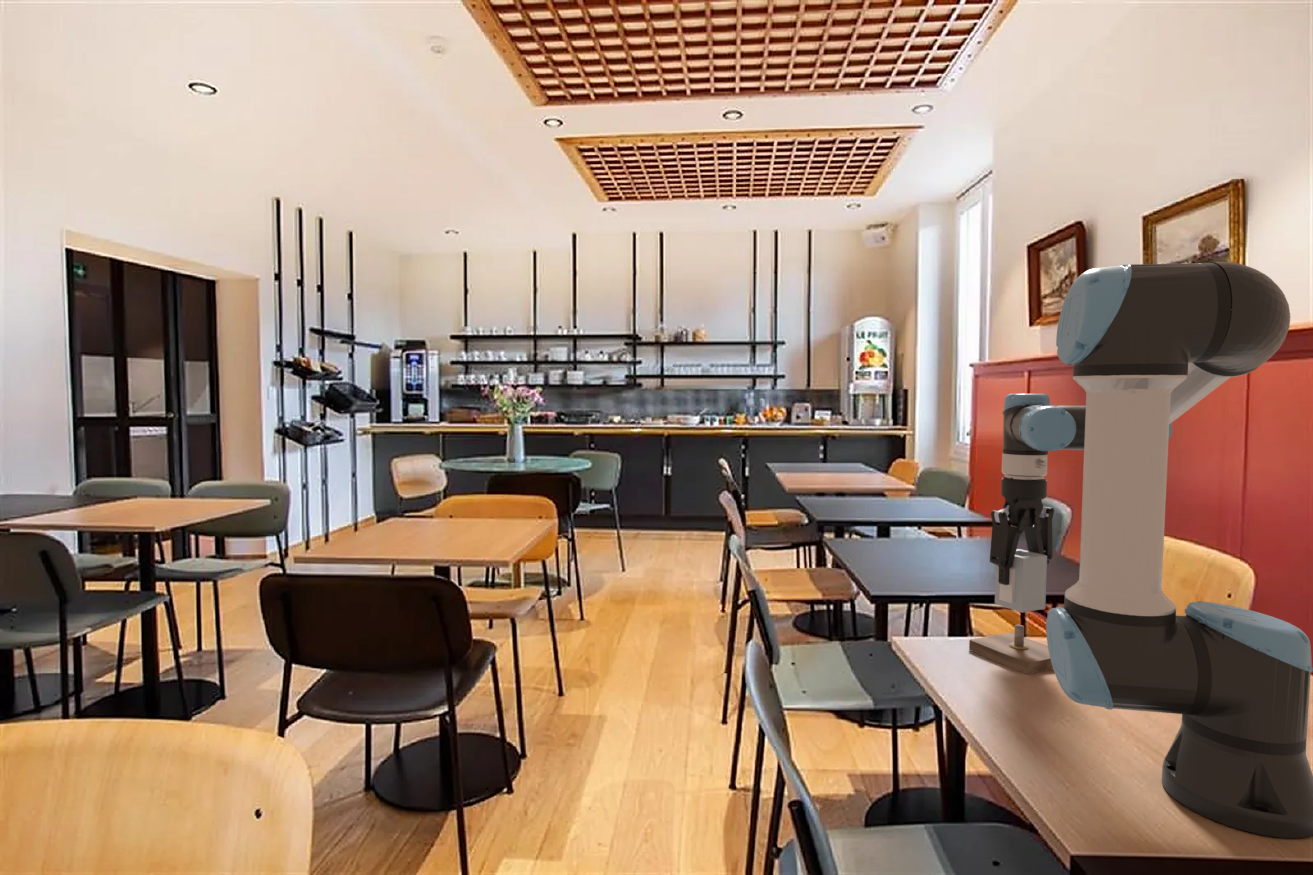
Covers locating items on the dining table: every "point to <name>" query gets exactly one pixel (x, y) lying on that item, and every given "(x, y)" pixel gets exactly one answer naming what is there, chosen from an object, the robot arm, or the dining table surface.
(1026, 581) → the light grey hollow box
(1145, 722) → the dining table surface
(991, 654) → the wooden peg base
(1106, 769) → the dining table surface
